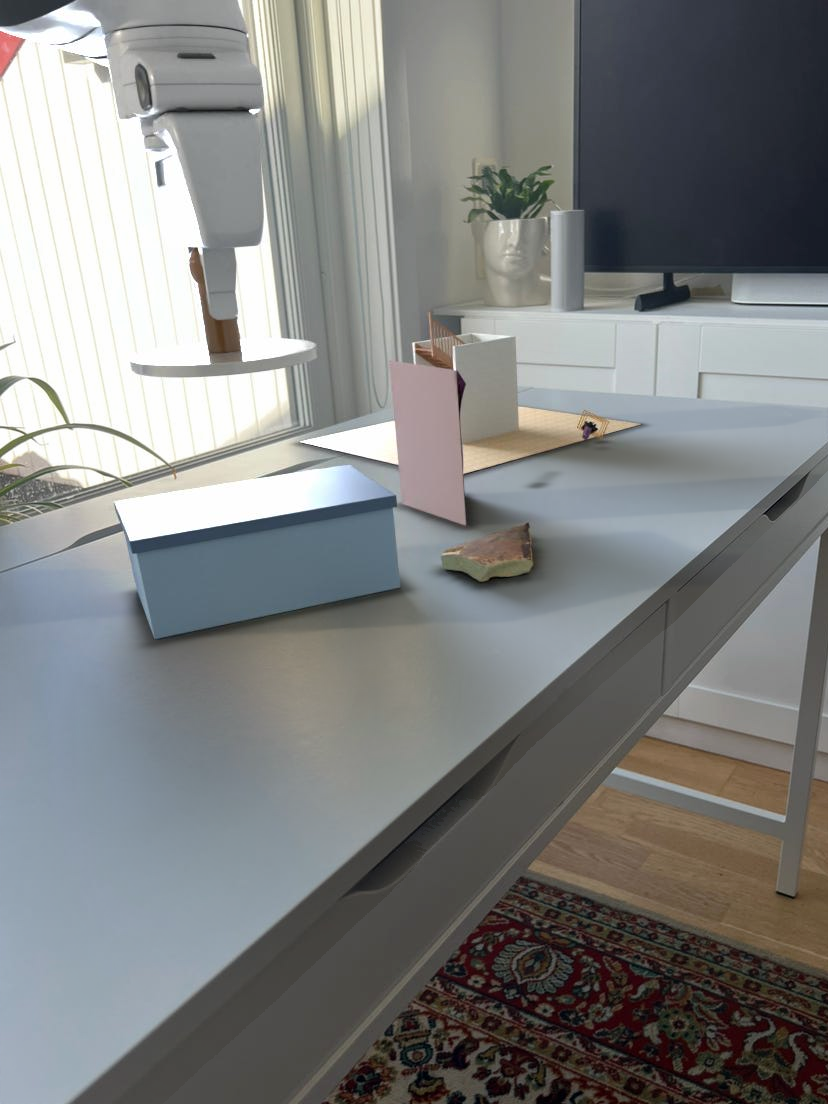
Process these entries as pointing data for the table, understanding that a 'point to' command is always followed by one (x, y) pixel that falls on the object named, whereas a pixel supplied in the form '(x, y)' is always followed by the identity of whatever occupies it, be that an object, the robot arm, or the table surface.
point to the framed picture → (591, 426)
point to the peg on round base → (221, 347)
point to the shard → (492, 555)
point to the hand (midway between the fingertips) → (219, 316)
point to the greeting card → (429, 438)
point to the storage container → (259, 547)
